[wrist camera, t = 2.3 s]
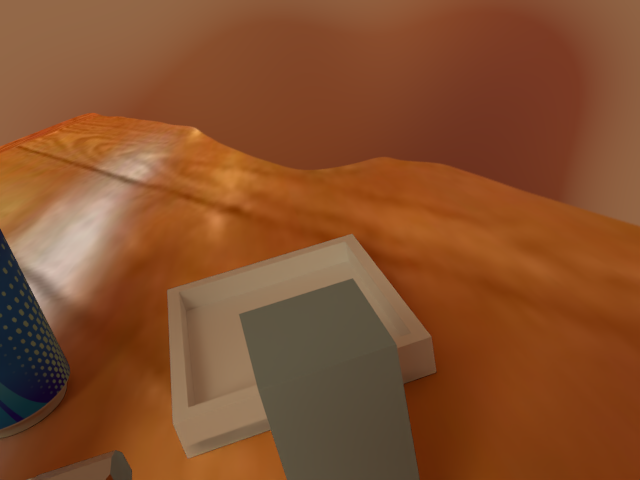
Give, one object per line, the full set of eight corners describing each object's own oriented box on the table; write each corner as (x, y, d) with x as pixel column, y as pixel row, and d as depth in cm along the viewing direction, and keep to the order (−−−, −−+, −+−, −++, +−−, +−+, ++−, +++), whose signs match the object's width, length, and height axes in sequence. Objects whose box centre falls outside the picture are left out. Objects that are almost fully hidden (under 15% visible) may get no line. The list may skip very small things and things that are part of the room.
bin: (187, 458, 36) (172, 423, 35) (177, 318, 51) (167, 289, 50) (436, 372, 39) (431, 336, 37) (357, 262, 54) (352, 233, 52)
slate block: (334, 627, 26) (258, 390, 19) (308, 532, 30) (238, 314, 24) (438, 585, 26) (396, 344, 20) (397, 498, 31) (352, 278, 25)
